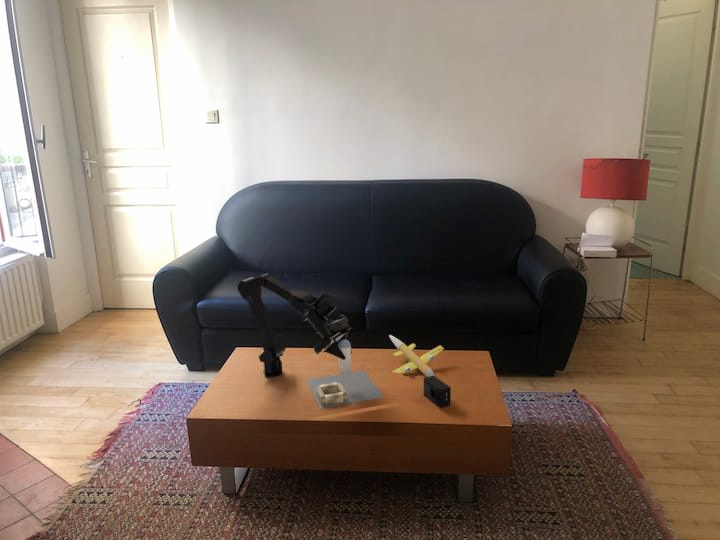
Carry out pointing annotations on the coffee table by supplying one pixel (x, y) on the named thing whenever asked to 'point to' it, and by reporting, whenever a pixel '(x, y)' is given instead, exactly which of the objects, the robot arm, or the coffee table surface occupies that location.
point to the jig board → (348, 387)
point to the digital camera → (437, 391)
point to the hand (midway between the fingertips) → (348, 356)
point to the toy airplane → (414, 358)
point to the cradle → (331, 397)
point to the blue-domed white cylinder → (346, 350)
